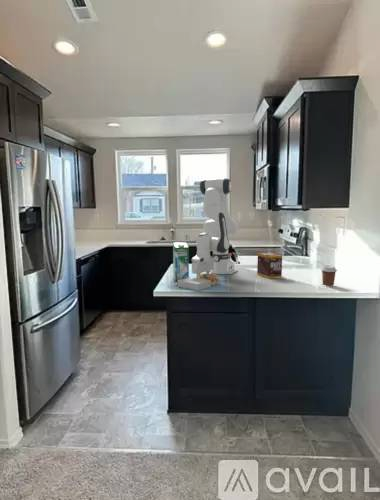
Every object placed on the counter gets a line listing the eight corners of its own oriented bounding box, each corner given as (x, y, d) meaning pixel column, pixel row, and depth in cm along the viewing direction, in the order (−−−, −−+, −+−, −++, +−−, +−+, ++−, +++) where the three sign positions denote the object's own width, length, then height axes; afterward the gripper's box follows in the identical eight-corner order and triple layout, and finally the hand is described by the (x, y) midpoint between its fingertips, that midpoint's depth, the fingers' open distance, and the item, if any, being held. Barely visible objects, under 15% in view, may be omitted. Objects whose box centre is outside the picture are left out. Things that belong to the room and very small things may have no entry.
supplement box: (269, 278, 240) (269, 256, 237) (256, 274, 254) (257, 253, 252) (282, 277, 243) (282, 255, 241) (269, 273, 258) (269, 252, 255)
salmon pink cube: (211, 279, 230) (211, 273, 229) (216, 280, 228) (216, 274, 227) (208, 280, 227) (208, 274, 226) (213, 281, 224) (213, 275, 224)
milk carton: (175, 281, 232) (175, 243, 228) (173, 278, 241) (173, 242, 237) (188, 280, 234) (188, 243, 230) (186, 278, 242) (186, 242, 239)
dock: (190, 283, 228) (190, 276, 227) (210, 286, 218) (210, 280, 217) (177, 286, 218) (177, 280, 217) (198, 290, 208) (198, 284, 207)
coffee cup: (338, 285, 219) (339, 266, 217) (331, 288, 213) (332, 268, 211) (324, 283, 226) (325, 264, 224) (317, 285, 219) (318, 266, 218)
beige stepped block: (201, 280, 237) (201, 272, 236) (219, 283, 227) (219, 275, 227) (195, 281, 232) (195, 274, 231) (214, 285, 222) (214, 277, 222)
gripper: (208, 255, 239) (208, 275, 241) (189, 259, 224) (189, 280, 226) (216, 256, 236) (216, 276, 237) (197, 260, 220) (197, 281, 222)
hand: (203, 278), depth 231 cm, fingers closed on beige stepped block, 6 cm apart
